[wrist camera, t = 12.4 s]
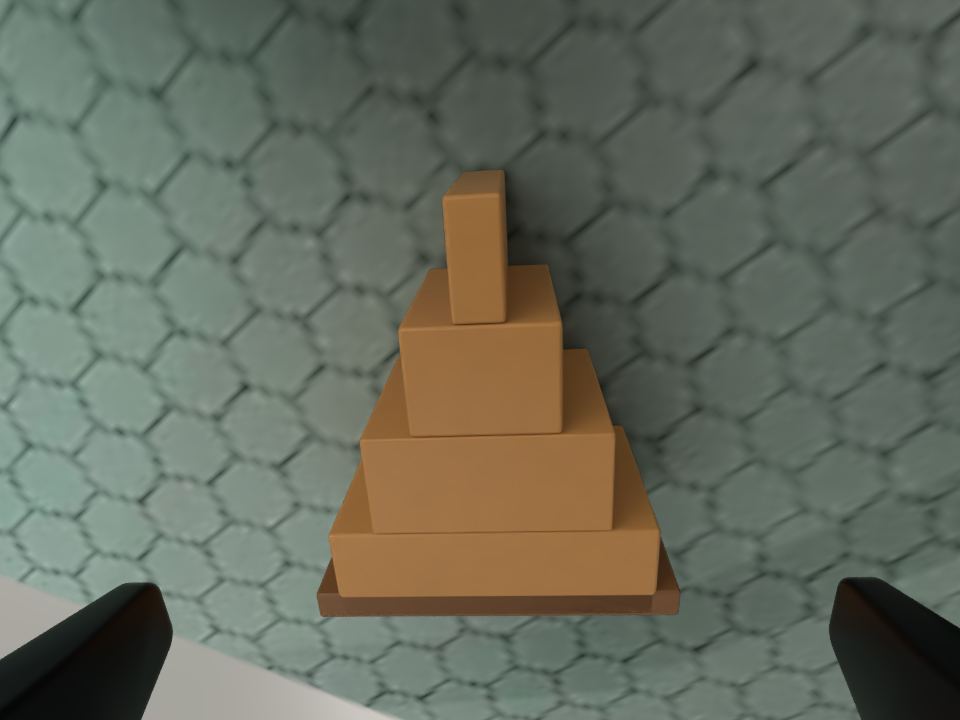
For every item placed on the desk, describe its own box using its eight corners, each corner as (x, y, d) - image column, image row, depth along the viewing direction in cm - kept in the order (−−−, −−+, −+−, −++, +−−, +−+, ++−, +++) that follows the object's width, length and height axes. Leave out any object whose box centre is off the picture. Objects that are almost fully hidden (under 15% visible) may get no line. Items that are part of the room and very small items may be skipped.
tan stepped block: (638, 493, 15) (679, 616, 11) (365, 498, 16) (319, 618, 12) (655, 160, 12) (720, 181, 8) (316, 179, 13) (235, 205, 9)
